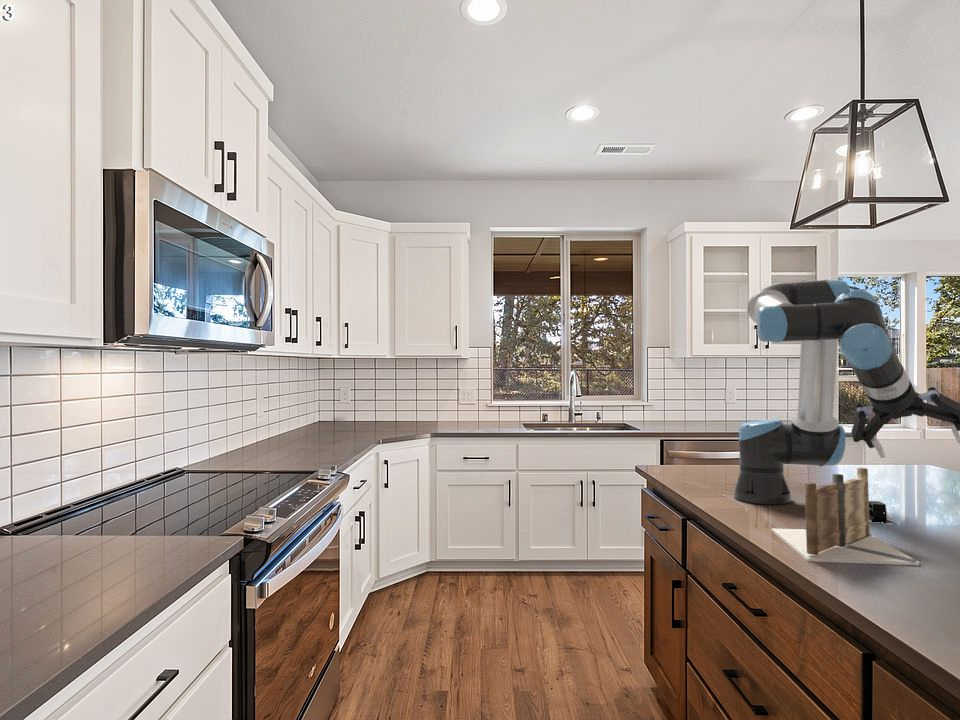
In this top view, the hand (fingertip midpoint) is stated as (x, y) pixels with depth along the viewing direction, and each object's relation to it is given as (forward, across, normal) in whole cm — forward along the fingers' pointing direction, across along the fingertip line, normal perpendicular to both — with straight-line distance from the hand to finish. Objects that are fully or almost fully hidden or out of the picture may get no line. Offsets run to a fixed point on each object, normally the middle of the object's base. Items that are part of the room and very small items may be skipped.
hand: (918, 445), depth 121 cm
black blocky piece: (+30, -16, +1) cm, 34 cm away
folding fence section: (-3, -21, -22) cm, 31 cm away
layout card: (+4, -20, -18) cm, 27 cm away
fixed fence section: (+8, -18, -15) cm, 25 cm away
